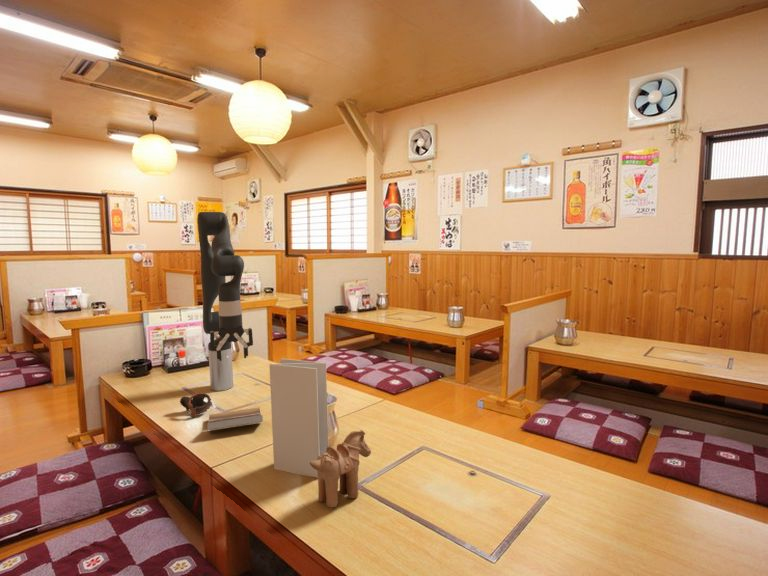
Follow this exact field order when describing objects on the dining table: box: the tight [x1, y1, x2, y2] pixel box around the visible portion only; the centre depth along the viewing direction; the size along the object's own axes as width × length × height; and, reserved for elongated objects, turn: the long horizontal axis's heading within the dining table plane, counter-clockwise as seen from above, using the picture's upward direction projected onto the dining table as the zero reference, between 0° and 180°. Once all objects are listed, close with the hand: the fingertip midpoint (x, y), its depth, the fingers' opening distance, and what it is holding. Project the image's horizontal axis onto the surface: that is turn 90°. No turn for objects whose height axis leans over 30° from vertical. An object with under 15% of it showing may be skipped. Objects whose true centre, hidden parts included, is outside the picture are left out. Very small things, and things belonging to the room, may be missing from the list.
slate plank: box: [206, 414, 264, 431], centre depth 141 cm, size 7×17×2 cm, turn 110°
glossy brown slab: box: [208, 407, 262, 423], centre depth 149 cm, size 8×17×2 cm, turn 111°
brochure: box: [269, 358, 329, 479], centre depth 115 cm, size 14×6×30 cm, turn 71°
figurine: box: [310, 429, 372, 508], centre depth 104 cm, size 7×18×15 cm, turn 132°
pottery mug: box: [179, 392, 213, 418], centre depth 156 cm, size 12×9×8 cm
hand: (232, 358), depth 148 cm, fingers open, 7 cm apart
